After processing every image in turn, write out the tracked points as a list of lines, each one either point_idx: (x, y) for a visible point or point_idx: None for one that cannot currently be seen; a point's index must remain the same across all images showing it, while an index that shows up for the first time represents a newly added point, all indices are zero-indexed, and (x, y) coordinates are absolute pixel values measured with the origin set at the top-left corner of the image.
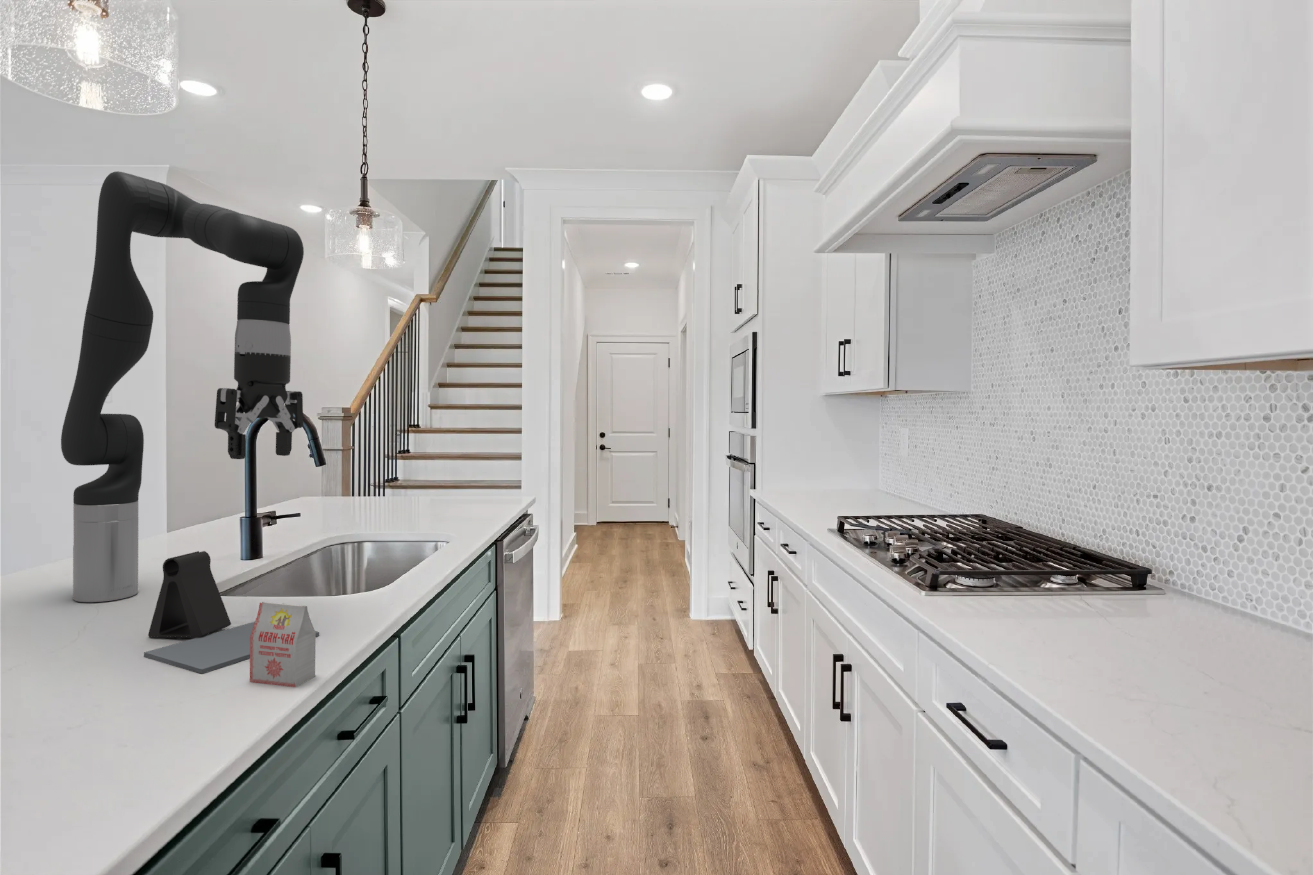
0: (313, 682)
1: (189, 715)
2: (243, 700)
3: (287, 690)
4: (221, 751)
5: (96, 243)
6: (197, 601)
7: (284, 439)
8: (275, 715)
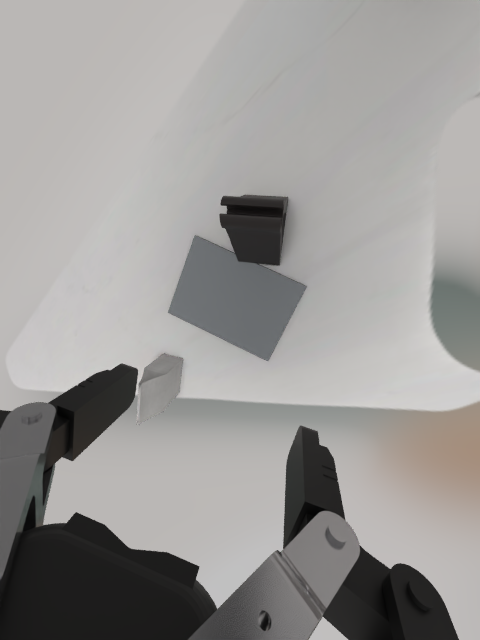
0: None
1: (112, 345)
2: (136, 365)
3: None
4: None
5: None
6: (243, 247)
7: (288, 505)
8: None
